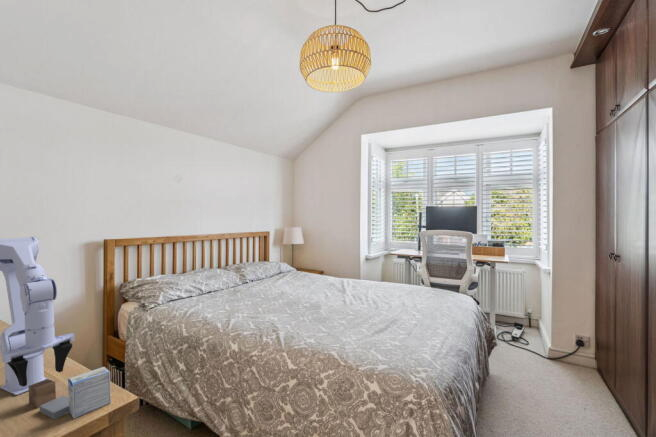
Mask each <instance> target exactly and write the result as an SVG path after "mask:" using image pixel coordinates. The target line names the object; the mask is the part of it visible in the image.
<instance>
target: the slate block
mask: <svg viewBox="0 0 656 437" xmlns="http://www.w3.org/2000/svg"><path fill="white" fill-rule="evenodd" d="M39 413H41V414H43V415H45V416H46V417H49V418H51V419H53V420H57V419H59V418H60V417H62V416H64V415H66V414H68V413H70V411H69V396H67V395H66V396H65V395H61V396H58V397H56V399H54V400H52V401H49V402H47V403H45V404H43V405H40V408H39Z"/></svg>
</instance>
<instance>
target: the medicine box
mask: <svg viewBox="0 0 656 437" xmlns="http://www.w3.org/2000/svg"><path fill="white" fill-rule="evenodd" d="M67 383H68V385H67V386H68V387H67V389H68V398H69V411H70V412H69V413H70V414H71V416H72V418H73V419H77V418H79V417H81V416H84V415H85V414H88V413H91V412H93V411H95V410H98V409H99V408H102V407H104V406H105V407H106V406H107V405H110V404H111V403H112V396H111V394H112V393H111V391H112V390H111V371H109V369H108V368H107V367H105V366H102V367H99V368H95V369H92V370H90V371H87V372H83V373H80V374H78V375H75V376H73V377H69V378H68V379H67Z"/></svg>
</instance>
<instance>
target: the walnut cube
mask: <svg viewBox="0 0 656 437" xmlns="http://www.w3.org/2000/svg"><path fill="white" fill-rule="evenodd" d="M49 379H50V378H48V379H45V380H43V381H40V382H38V383H35V384H33V385H30V386H29V390H28V405H29V406H31V407H33V408H35V409H40V405H43V404H45V403H47V402H49V401H52V400H54V399H56V398H57V395H56V394H57V393H56V390H57V389H56V381H55V380H52V379H50V380H49Z"/></svg>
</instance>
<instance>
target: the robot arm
mask: <svg viewBox="0 0 656 437" xmlns="http://www.w3.org/2000/svg"><path fill="white" fill-rule="evenodd" d="M39 245H40V243H39V239H38V238H36V236H30V237H14V238H13V237H12V238H0V271H1V272H2V274H3V276H4V280H5V286H6V292H7V298H8V306H9V312H10V313H9V314H10V317H11V325H9V326H8V327H6V328H5V329H4V330H3V331H2V332H1V334H0V355H1V362H2V363H3V364H4V385H2V386H1V385H0V389H2V390H4V391H5V392H8V393H10V394H12V395H15V396H18V395H20V394H23V393H25V392H29V386H30V385H33V384H35V383H38V382H40V381H43V380H45V379H49V380H51V378H48V377H45V373H44V372H45V371H44V353H46V350H48V349H50V348H52V349H53V354H54V368H55V372H58V373H62V372H63V371H64V367H65V363H66V360H67V357H68V355H69V354H70V351H71V350H72V348H73V342H75V333H72V332H71V333H66V334H62V335H58V336H56V334H55V333H56V331H55V308H54V306H55V305H54V302H55V300H56V299H57V295H58V288H57V284H56V281H55V279H54V278H51V277H48V276H47V273H46V272H45V270H44V268H43V266H42V265H41V264H38V263H36V261H37V258H38V254H39V251H40V247H39Z"/></svg>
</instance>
